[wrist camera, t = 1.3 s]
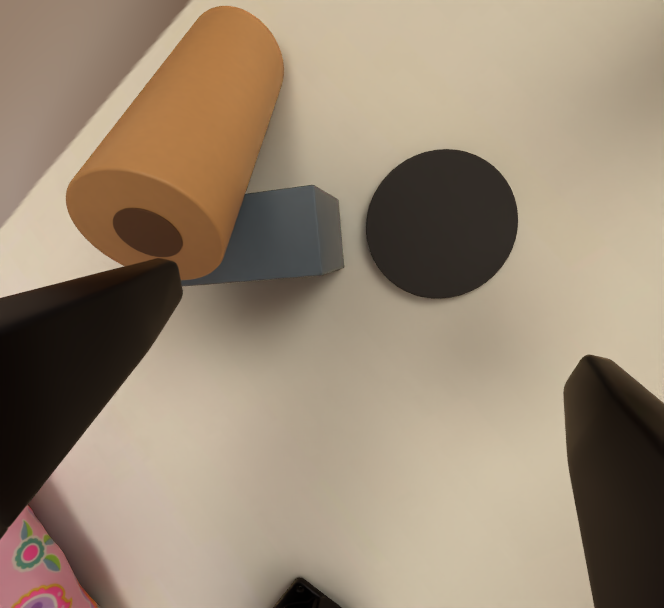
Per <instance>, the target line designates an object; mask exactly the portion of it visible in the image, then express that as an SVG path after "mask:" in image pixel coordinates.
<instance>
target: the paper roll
mask: <svg viewBox="0 0 664 608" xmlns="http://www.w3.org/2000/svg"><path fill="white" fill-rule="evenodd" d="M283 76H284V65H283V59H282V54H281V51H280V48H279V46H278V44H277V42H276V40H275V38H274V36H273V35H272V33H271V32H270V31H269V29H268V28H267V27H266V26H265V25H264V24H263V23H262V22H261V21H260V20H259V19H258V18H256V17H255V16H254V15H252V14H251V13H249V12H247V11H245V10H243V9H240V8H237V7H231V6H219V7H215V8H212V9H209V10H208V11H206V12H204V13H203V14H202V15H201V16H200V17H199V18H198V19H197V20H196V22H195V23H194V24H193V25H192V27H191V28H190V29H189V31H188V32H187V33H186V34H185V36H184V37H183V38H182V40H181V41H180V42H179V43H178V45H177V46H176V47H175V49H174V50H173V51H172V52H171V54H170V55H169V56H168V58H167V59H166V60H165V61H164V63H163V64H162V65H161V67H160V68H159V69H158V70H157V72H156V73H155V74H154V75H153V77H152V78H151V79H150V81H149V82H148V83H147V84H146V86H145V87H144V88H143V90H142V91H141V92H140V93H139V95H138V96H137V97H136V99H135V100H134V101H133V102H132V104H131V105H130V106H129V108H128V109H127V110H126V111H125V113H124V114H123V115H122V117H121V118H120V119H119V120H118V122H117V123H116V124H115V125H114V127H113V128H112V129H111V131H110V132H109V133H108V134H107V136H106V137H105V138H104V140H103V141H102V142H101V143H100V145H99V146H98V147H97V149H96V150H95V151H94V152H93V154H92V155H91V156H90V158H89V159H88V160H87V161H86V163H85V164H84V165H83V166H82V168H81V169H80V170H79V172H78V173H77V174H76V175H75V177H74V178H73V179H72V181H71V182H70V184H69V186H68V188H67V193H66V205H67V209H68V212H69V215H70V217H71V219H72V221H73V223H74V224H75V226H76V227H77V229H78V230H79V231H80V233H81V234H82V235H83V236H84V237H85V238H86V239H87V240H88V241H89V242H90V243H91V244H92V245H93V246H94V247H96V248H97V249H98V250H99V251H101V252H102V253H103V254H105V255H106V256H108V257H109V258H111V259H113V260H114V261H116V262H118V263H120V264H122V265H124V266H128V265H132V264H136V263H140V262H144V261H148V260H152V259H156V258H162V259H167V260H171V261H174V262H175V263H176V264H177V265H178V268H179V273H180V278H181V280H190V279H196V278H200V277H203V276H206V275H208V274H209V273H211V272H213V271H214V270H215V269H216V268H217V267H218V266H219V265H220V263H221V262H222V260H223V258H224V255H225V252H226V249H227V246H228V243H229V240H230V237H231V234H232V231H233V228H234V225H235V222H236V219H237V216H238V213H239V210H240V207H241V204H242V201H243V198H244V195H245V192H246V190H247V187H248V184H249V181H250V178H251V175H252V172H253V169H254V166H255V163H256V160H257V157H258V154H259V151H260V148H261V145H262V142H263V139H264V136H265V133H266V130H267V127H268V124H269V121H270V118H271V115H272V112H273V109H274V107H275V104H276V101H277V98H278V95H279V92H280V89H281V86H282V82H283Z"/></svg>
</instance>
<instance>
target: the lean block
mask: <svg viewBox="0 0 664 608" xmlns="http://www.w3.org/2000/svg"><path fill="white" fill-rule="evenodd" d="M341 268H344V260H343V248H342V237H341V225H340V213H339V202H338V199H337V198H335V197H333V196H331V195H330V194H328V193H326V192H325V191H323V190H321V189H319V188H318V187H316V186H314V185H308V186H301V187H293V188H286V189H278V190H271V191H263V192H256V193H248V194H245V195H244V198H243V201H242V204H241V207H240V210H239V213H238V216H237V219H236V222H235V225H234V228H233V231H232V234H231V237H230V240H229V243H228V246H227V249H226V252H225V255H224V258H223V260H222V262H221V263H220V265H219V266H218V267H217V268H216V269H215V270H214V271H213V272H211V273H209V274H208V275H206V276H203V277H200V278H196V279H190V280H181V284H182V286H193V285H206V284H219V283H232V282H245V281H258V280H271V279H284V278H297V277H309V276H321V275H324V274H327V273H330V272H333V271H336V270H339V269H341Z"/></svg>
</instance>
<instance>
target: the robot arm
mask: <svg viewBox="0 0 664 608" xmlns="http://www.w3.org/2000/svg"><path fill="white" fill-rule="evenodd" d="M182 294H183V289H182V284H181V278H180V273H179V268H178V265H177V264H176V263H175V262H174V261H171V260H167V259H162V258H156V259H152V260H148V261H144V262H140V263H136V264H132V265H128V266H124V267H121V268H117V269H113V270H109V271H105V272H101V273H97V274H93V275H89V276H85V277H81V278H77V279H73V280H70V281H66V282H62V283H58V284H54V285H50V286H46V287H42V288H38V289H34V290H30V291H26V292H22V293H19V294H15V295H11V296H7V297H3V298H0V539H1V538H2V537H3V536H4V534H5V533H6V532H7V530H8V527H10V526H11V525H12V524H13V522H14V521H15V520H16V519H17V517H18V516H19V515H20V514H21V512H22V511H23V510H24V508H25V507H26V506H27V505H28V503H29V502H30V501H31V500H32V498H33V497H34V496H35V494H36V493H37V492H38V491H39V489H40V488H41V487H42V486H43V484H44V483H45V482H46V480H47V479H48V478H49V477H50V475H51V474H52V473H53V472H54V470H55V469H56V468H57V466H58V465H59V464H60V463H61V461H62V460H63V459H64V458H65V456H66V455H67V454H68V452H69V451H70V450H71V449H72V447H73V446H74V445H75V444H76V442H77V441H78V440H79V439H80V437H81V436H82V435H83V433H84V432H85V431H86V430H87V428H88V427H89V426H90V425H91V423H92V422H93V421H94V419H95V418H96V417H97V416H98V414H99V413H100V412H101V411H102V409H103V408H104V407H105V405H106V404H107V403H108V402H109V400H110V399H111V398H112V397H113V395H114V394H115V393H116V391H117V390H118V389H119V388H120V386H121V385H122V384H123V383H124V381H125V380H126V379H127V378H128V376H129V375H130V374H131V372H132V371H133V370H134V369H135V367H136V366H137V365H138V364H139V362H140V361H141V360H142V358H143V357H144V356H145V355H146V353H147V352H148V351H149V349H150V348H151V346H152V345H153V343H154V342H155V340H156V339H157V337H158V335H159V334H160V332H161V331H162V329H163V328H164V326H165V324H166V323H167V321H168V320H169V318H170V316H171V315H172V313H173V312H174V310H175V308H176V307H177V305H178V304H179V302H180V300H181V298H182ZM564 411H565V428H566V445H567V458H568V466H569V473H570V478H571V484H572V489H573V494H574V500H575V505H576V510H577V516H578V521H579V527H580V532H581V537H582V543H583V548H584V553H585V559H586V564H587V569H588V575H589V580H590V586H591V591H592V596H593V602H594V607H595V608H664V403H663V402H662V401H660V400H659V399H658V398H657V397H656V396H654V395H653V394H652V393H651V392H649V391H648V390H647V389H646V388H645V387H643V386H642V385H641V384H640V383H639V382H637V381H636V380H635V379H634V378H633V377H631V376H630V375H629V374H628V373H627V372H625V371H624V370H623V369H622V368H621V367H619V366H618V365H617V364H616V363H615V362H613V361H612V360H610V359H608V358H603V357H599V356H594V355H586V356H584V357H583V358H582V359H581V360H580V362H579V363H578V365H577V366H576V368H575V369H574V371H573V372H572V374H571V375H570V377H569V378H568V380H567V382H566V384H565V386H564ZM300 586H301V587H300ZM273 608H341V607H340V606H339V605H338V604H336V603H335V602H334V601H332V600H331V599H330V598H328V597H327V596H326V595H324V594H323V593H322V592H321V591H319V590H318V589H317V588H315V587H314V586H313V585H311V584H310V583H309V582H307V581H306V580H305V579H303V578H297V579H295V581H294V582H293V583H292V584H291V586H290V587H289V588H288V589H287V591H286V592H285V593H284V594H283V596H282V597H281V598H280V599H279V601H278V602H277V603H276V604H275V606H274V607H273Z"/></svg>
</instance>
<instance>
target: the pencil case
mask: <svg viewBox="0 0 664 608" xmlns="http://www.w3.org/2000/svg"><path fill="white" fill-rule="evenodd" d="M0 608H100V607H99V606H98V604H97V603H96V602H95V601H94V600H93V599H92V598H91V597H90V596H89V595H88V594H87V592H86V591H85V590H84V589H83V588H82V587H81V586H80V584H79V582H78V580H77V579H76V577H75V575H74V573H73V571H72V569H71V567H70V565H69V563H68V561H67V559H66V557H65V555H64V554H63V552H62V550H61V549H60V548H59V546H58V545H57V544H56V543H55V542H54V541H53V540H52V539H51V537H50V536H49V535H48V533H47V532H46V530H45V529H44V527H43V526H42V524H41V523H40V522H39V520H38V519H37V518H36V516H35V515H34V513H33V511H32V509H31V508H30V506H28V505H27V506H26V507H25V508H24V510H23V511H22V512H21V514H20V515H19V516H18V517H17V519H16V520H15V521H14V522H13V524H12V525H11V526H10V527H8V530H7V532H6V533H5V534H4V536H3V537H2V538H1V539H0Z"/></svg>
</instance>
